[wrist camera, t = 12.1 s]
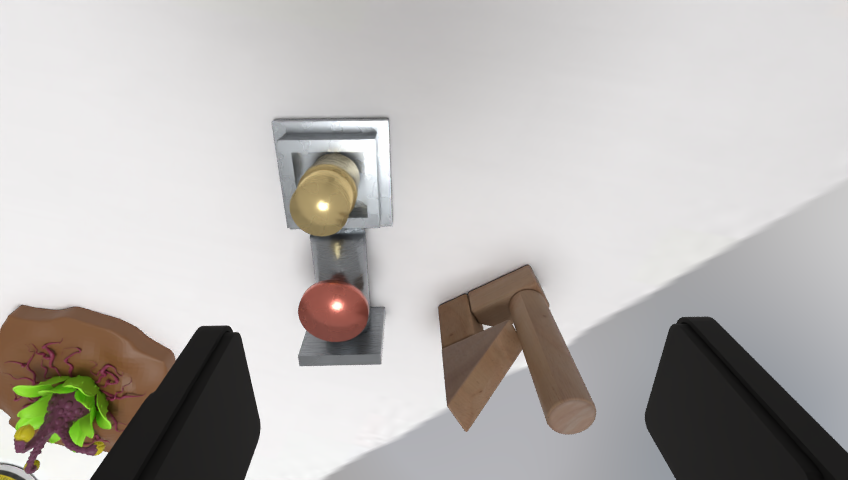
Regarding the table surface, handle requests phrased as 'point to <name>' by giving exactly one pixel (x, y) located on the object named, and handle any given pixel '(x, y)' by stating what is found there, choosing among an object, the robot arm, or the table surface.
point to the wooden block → (510, 352)
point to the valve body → (339, 237)
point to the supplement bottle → (13, 473)
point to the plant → (74, 378)
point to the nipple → (325, 195)
